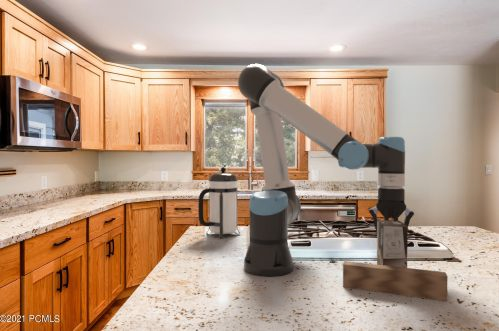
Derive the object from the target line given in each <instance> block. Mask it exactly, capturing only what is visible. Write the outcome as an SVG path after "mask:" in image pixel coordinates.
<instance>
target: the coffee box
mask: <svg viewBox="0 0 499 331" xmlns="http://www.w3.org/2000/svg"><path fill="white" fill-rule="evenodd" d="M408 231H409V226H406V225H405V224H404V222H403V221H401V220H398V221H396V220H393V219H391V220H384V219H383V220H380V219H379V220H377V233H376V238H377V239H376V265H385V266H394V267H403V268H408V247H409V246H408V243H409V242H408V241H409V240H408V238H409V236H408V234H409V233H408Z"/></svg>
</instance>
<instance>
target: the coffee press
mask: <svg viewBox="0 0 499 331" xmlns="http://www.w3.org/2000/svg"><path fill="white" fill-rule="evenodd" d="M226 170H227V169H226V167H223V166H222V167H221V168H220V172H216V173H212V174H210V176H209V178H208V182H209V187H207V188H205V189H203V190H201V191H200V192H199V195H198V196H199V197H198V206H197V207H198V221H199V223H200V225H202V226H204V227H208V230H207V231H206V235H207V236H209V235H210V234H216V235H218V236H219V239H224V235H230V234H233V233H234V234H236V235H237V236H240V234H241V231H240V230H239V229H238V187H237V186H238V177H237V175H236V174H234V173H231V172H226ZM206 194H208V221H207V222H206V221H205V219H204V198H205V195H206ZM209 231H210V233H208V232H209ZM237 231H238V232H237Z"/></svg>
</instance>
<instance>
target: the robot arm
mask: <svg viewBox="0 0 499 331" xmlns="http://www.w3.org/2000/svg"><path fill="white" fill-rule="evenodd" d="M237 79H238V80H237V85H238V89H239V91H240V93H241V95H243V97H245V99H247V100H249V106H250V113H251V114H253V115H254V116H255V118H256V119H255V120H256V126H257V135H258V142H259V149H260V155H261V163H262V170H263V178H264V185H263V186H262V188H261V190H260V191H256V192H254V193H252V194H251V195H250V199H249V205H248V207H249V208H248V209H249V244H248V247H247V251H246V254H245V258H244V261H243V269H244V271H245V272H247V273H249V274H252V275H256V276H262V277H277V276H283V275H287V274H290V273H291V272H293V271H294V259H293V257H292V254H291V249H290V247H289V244H288V233H289V232H288V231H289V230H288V226H289V225H290V224H293V223H294V222H295V221H296V220H297V219H298V217H299V216H300V215H299V214H300V212H301V208H302V207H301V206H302V205H301V200H300V199H299V197H298V195H297V192H296V185H295V184H294V183H293V182H292V181H291V180H290V174H289V167H288V161H287V160H288V158H287V153H286V144H285V138H284V137H285V136H284V130H283V123H282V119H283V120H284V121H285V122H287V124H289V125H291V126H292V127H293V128H294V129H295V130H297V131H299V132H300V133H301V134H302V135H303V136H305V137H306V138H308V139H309V140H311V141H312V142H313V143H314V144H316V145H317V146H319V147H320V148H321V149H323V150H324V151H325V152H326V153H328V154H329V155H331V157H333V158H334V159H335V160H337V163H338V166H339V167H340V168H346V169H348V170H359V169H362V168H363V169H365V168H366V169H370V168H371V169H372V168H373V169H375V168H376V169H377V171H378V172H377V182H378V183H377V186H379V187H378V188H377V203H376V206H374V207H371V208H369V210H368V213H369V214H370V216H371V217H372V220H373V225H374V229H375V234H377V220H378V216H377V214H378V211H379V213H380V214H381V216H382V217H383V218H384V219H383V221H384V220H389V219H390V218H392V220H396V221H399V218H400V217H401V215H402V214H403V213H404V215H405V217H404V221H403V223H404V224H405V225H406V226H408V227H409V226H410V221H411V219H412V218H413V216H415V212H414V211H413V210H411V209H410V208H407V205H406V203H405V199H406V198H405V196H406V195H405V193H406V192H405V191H406V190H405V188H403V187H405V186H406V184H405V183H406V179H405V177H406V176H405V172H406V171H405V170H406V145H405V144H406V143H405V139H404V138H403V137H402V136H380V137H379V138H378V140H377V143H362V142H360V141H358V140H357V139H356V138H354V137H353V136H352V135H350V134H348V132H346V131H344V129H342V128H340V127H339V126H337V125H336V124H335V123H333V122H332V121H331V120H329V119H327V117H325V116H323V114H320V113H319V112H318V111H316V110H315V109H314V108H312V107H311V106H310V105H308V104H307V103H306V102H304V101H302V100H301V99H300V98H298V97H297V96H296V95H294V94H293V93H291V92H290V91H288V90H287V89H286V88H285V85H284V83H283V81H282V79H281V78H280V77H279V75H277V74H275V73H274V72H272V71H271V70H270V69H268V68H267V67H266V66H264V65H262V64H259V63H255V64H253V63H252V64H250V65H248V66H246V67H244V68H243V69H242V71H241V72H240V73H239V75H238V78H237Z"/></svg>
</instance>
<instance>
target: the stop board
mask: <svg viewBox="0 0 499 331" xmlns="http://www.w3.org/2000/svg"><path fill="white" fill-rule="evenodd" d="M448 280H449V279H448V275H447V272H446V271H438V270H431V269H430V270H429V269H419V268H412V267H411V268H409V267H407V268H403V267H394V266H385V265H377V263H376V264H375V263H365V262H358V261H357V262H356V261H347V260H344V261H343V264H342V287H343V288H347V289H355V290H356V289H357V290H363V291H369V292H370V291H371V292H378V293H385V294H394V295H401V296H407V297H415V298H422V299H429V300H435V301H436V300H437V301H443V302H448Z"/></svg>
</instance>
